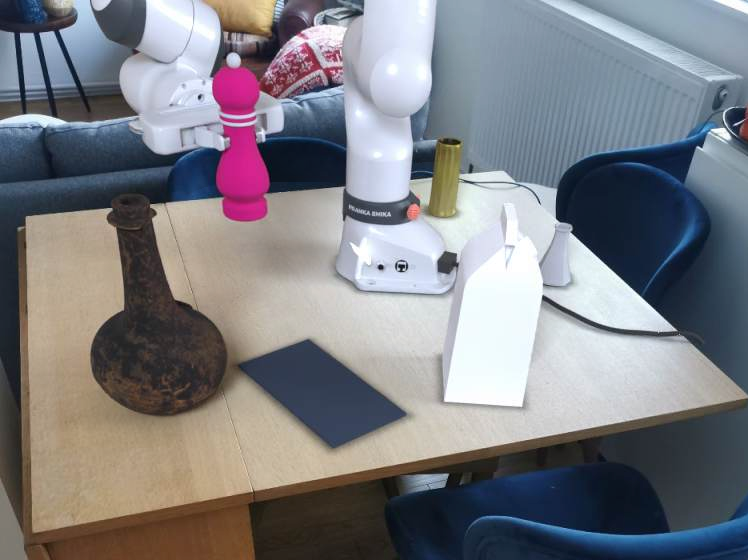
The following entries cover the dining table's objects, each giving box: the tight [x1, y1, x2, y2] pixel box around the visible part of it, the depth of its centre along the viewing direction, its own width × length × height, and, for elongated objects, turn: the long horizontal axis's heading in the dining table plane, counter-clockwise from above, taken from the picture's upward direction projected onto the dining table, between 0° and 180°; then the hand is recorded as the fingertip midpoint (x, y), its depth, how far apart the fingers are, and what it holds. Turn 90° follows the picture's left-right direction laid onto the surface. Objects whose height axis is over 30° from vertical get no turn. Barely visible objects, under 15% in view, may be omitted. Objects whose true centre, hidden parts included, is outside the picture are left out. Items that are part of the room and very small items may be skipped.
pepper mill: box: [212, 52, 270, 223], centre depth 100 cm, size 7×7×20 cm
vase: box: [427, 136, 464, 218], centre depth 156 cm, size 6×6×14 cm
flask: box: [538, 222, 574, 287], centre depth 138 cm, size 7×7×10 cm
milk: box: [441, 202, 544, 408], centre depth 106 cm, size 12×12×26 cm
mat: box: [237, 338, 407, 449], centre depth 111 cm, size 24×13×1 cm, turn 39°
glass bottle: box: [89, 193, 228, 417], centre depth 98 cm, size 18×18×28 cm
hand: (243, 140), depth 100 cm, fingers closed on pepper mill, 4 cm apart
